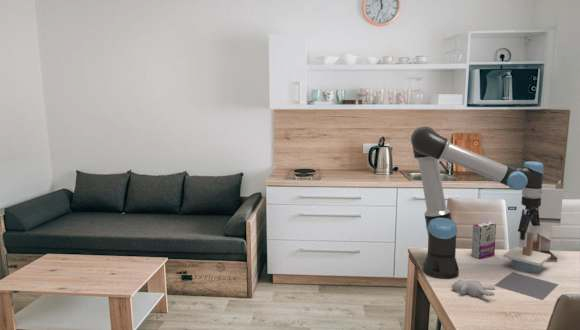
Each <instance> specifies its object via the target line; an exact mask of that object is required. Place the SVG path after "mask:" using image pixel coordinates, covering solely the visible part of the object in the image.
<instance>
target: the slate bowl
mask: <svg viewBox="0 0 580 330" xmlns="http://www.w3.org/2000/svg"><path fill="white" fill-rule="evenodd" d="M510 265H511V267H512V268H513V269H515V270H518V271H521V272H525V273H540V272H542V269H543V264H542V265H541V266H537V265H533V264H529V263H525V262H521V261H517V260H513V259H510Z"/></svg>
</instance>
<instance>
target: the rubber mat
mask: <svg viewBox="0 0 580 330" xmlns="http://www.w3.org/2000/svg"><path fill="white" fill-rule="evenodd" d="M559 285H560V284H558V283H555V282H552V281H547V280H543V279H540V278H537V277H532V276H529V275H526V274H522V273H518V272H513V271H511V273H509V274H508V275H506V276H505V277H504V278H502V279H501V280H499V281H498V282H497V283H495V284H494V287H498V288H502V289H504V290H507V291H510V292H515V293H516V294H517V293H518V294H520V295H525V296H528V297H532V298H534V299H536V300H537V299H538V300H541V301H543V300H545V299H546V298H547V297H548V295H550V294H551V293H552V292H553V291H554V290H555V289H556V288H557V287H558V286H559Z"/></svg>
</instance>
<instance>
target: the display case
mask: <svg viewBox="0 0 580 330" xmlns="http://www.w3.org/2000/svg"><path fill="white" fill-rule="evenodd" d="M542 191H543V193H541V197H540V198H541V206H539V209H538V210H539V221H540V223H539V224H540V226H538V228H537V240H533V246H532V251H537V252H541V253H546V254H550V255H551V257H550V258H549V259H548V260H547V261H545V262H548V263H557V262H558V257H557V256H555V254H554V253H552V252H551V242H552V234H553V232H552V231H553V226H559V227H560V226H561V221H562V220H561V218H562V209H563V208H562V207H563V198H564V197H563V196H564V189H563V188H556V185H555V184H542ZM531 225H532V224H531V220H530V222H529V225H528V229H527V232H529V233H530V227H531Z"/></svg>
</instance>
